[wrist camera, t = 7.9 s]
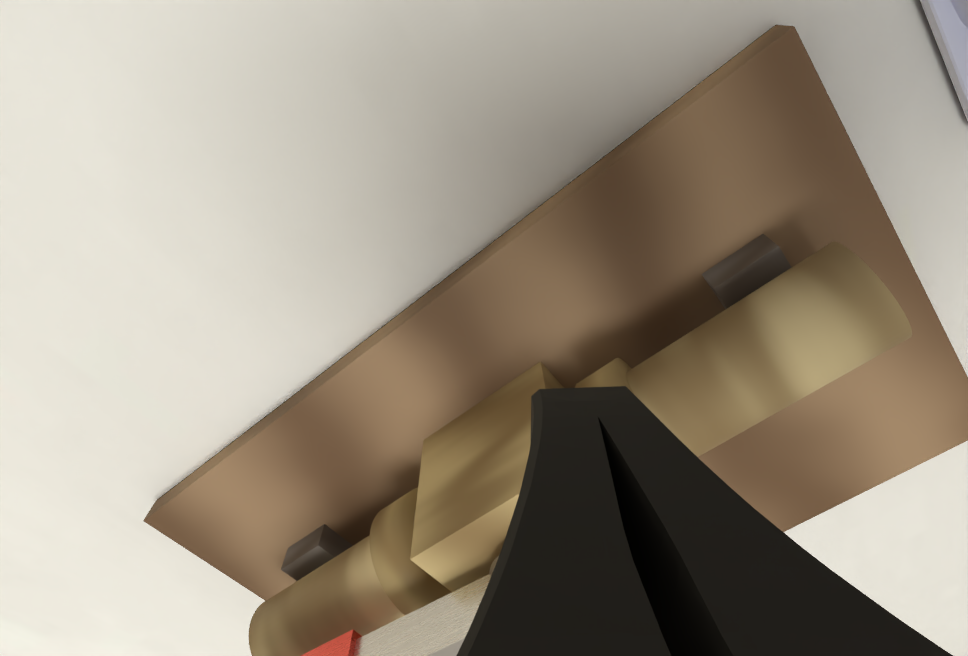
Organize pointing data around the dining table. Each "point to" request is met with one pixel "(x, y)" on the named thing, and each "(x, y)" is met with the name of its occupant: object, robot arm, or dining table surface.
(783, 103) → the valve board
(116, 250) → the dining table surface
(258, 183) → the dining table surface
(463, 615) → the valve lever
